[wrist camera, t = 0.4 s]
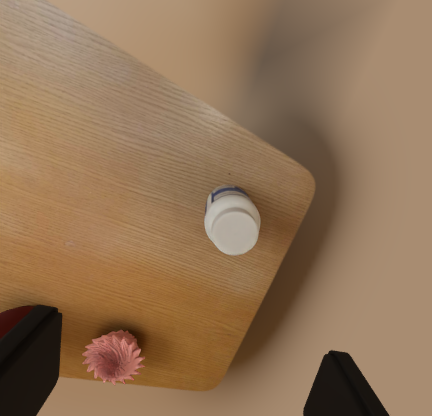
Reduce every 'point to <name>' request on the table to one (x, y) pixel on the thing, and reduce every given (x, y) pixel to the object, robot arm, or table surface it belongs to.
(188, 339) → the table surface
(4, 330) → the mug
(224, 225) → the pill bottle
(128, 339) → the flower
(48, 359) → the robot arm
